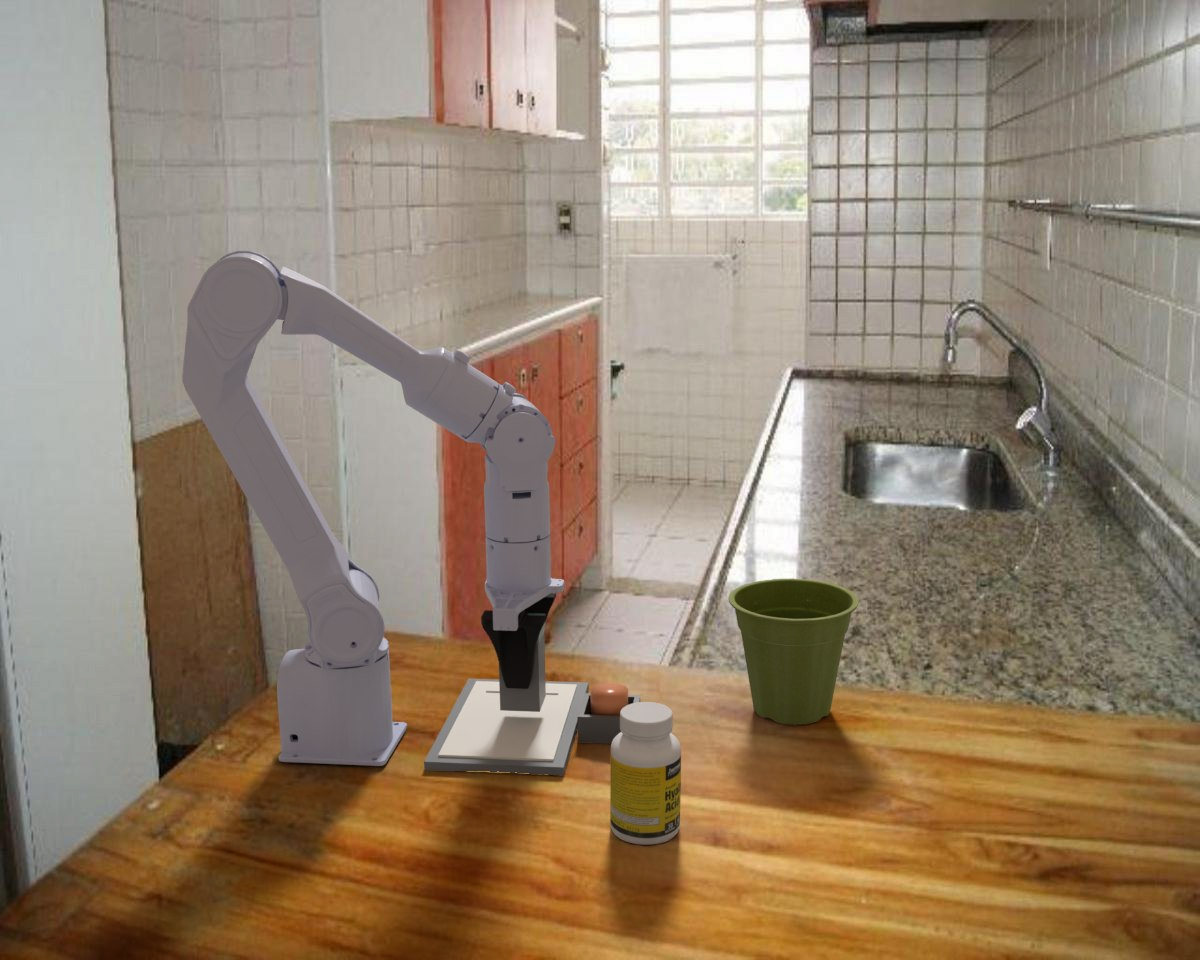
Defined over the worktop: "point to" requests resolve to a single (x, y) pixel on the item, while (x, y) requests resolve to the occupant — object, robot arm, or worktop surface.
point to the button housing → (598, 723)
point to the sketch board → (508, 731)
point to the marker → (537, 689)
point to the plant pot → (792, 644)
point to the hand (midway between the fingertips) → (521, 677)
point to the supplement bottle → (645, 775)
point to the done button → (608, 699)
